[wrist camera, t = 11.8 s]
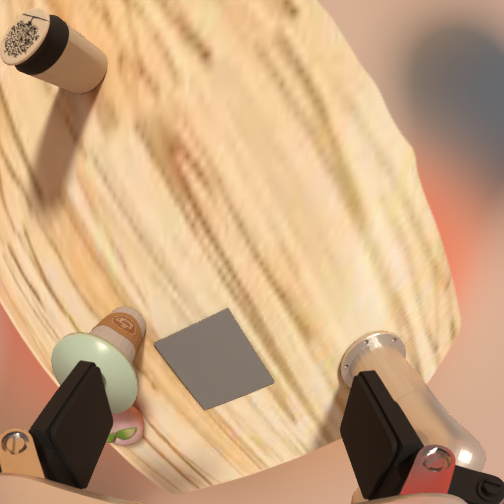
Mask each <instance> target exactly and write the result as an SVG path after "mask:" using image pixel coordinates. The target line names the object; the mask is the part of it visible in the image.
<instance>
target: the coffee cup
mask: <svg viewBox="0 0 504 504" xmlns="http://www.w3.org/2000/svg"><path fill="white" fill-rule="evenodd" d="M145 331H146V325H145V321H144V319H143V317H142V315H141V314H140V313H139V312H138V311H137V310H135V309H133V308H131V307H126V306H125V307H118V308H116V309H115V310H113V311H112V312H111V313H110V314H109V315H108V316H106V317H105V318H104V319H103V320H102V321H101V322H100V323H98V324H97V325H96V326H95V327H94V328H93V329H92V331H91V332H90V334H94V335H97V336H99V337H101V338H103V339H105V340H107V341H109V342H110V343H112V344H113V345H115V346H116V347H117V348H118V349H119V350H120V351H121V352H122V353H123V354H124V355H125V356H126V357H127V358H128V359H129V361H130V362H131V364H133V362H134V360H135V357H136V355H137V352H138V350H139V347H140V345H141V342H142V339H143V336H144V334H145Z"/></svg>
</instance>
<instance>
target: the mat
mask: <svg viewBox="0 0 504 504" xmlns="http://www.w3.org/2000/svg"><path fill="white" fill-rule="evenodd" d="M154 345H155V347H156V348H157V349H158V351H159V352H160V354H161V355H162V356H163V358H164V359H165V360H166V362H167V363H168V364H169V366H170V367H171V368H172V370H173V371H174V372H175V374H176V375H177V376H178V377H179V379H180V380H181V381H182V383H183V384H184V385H185V386H186V388H187V389H188V390H189V391H190V393H191V394H192V395H193V396H194V398H195V399H196V400H197V401H198V402H199V404H200V405H201V406H202V407H203V408H204V410H206V409H209V408H212V407H215V406H217V405H220V404H223V403H225V402H228V401H231V400H233V399H236V398H238V397H241V396H243V395H246V394H248V393H251V392H253V391H256V390H258V389H260V388H263V387H265V386H268V385H270V384H272V383H274V380H273V378H272V377H271V375H270V374H269V372H268V370H267V369H266V367H265V366H264V364H263V363H262V361H261V360H260V358H259V356H258V355H257V353H256V352H255V350H254V349H253V347H252V345H251V344H250V342H249V341H248V339H247V337H246V336H245V334H244V333H243V331H242V329H241V328H240V326H239V325H238V323H237V321H236V320H235V318H234V317H233V315H232V313H231V312H230V310H229V308H226V309H224V310H222V311H220V312H218V313H216V314H214V315H212V316H210V317H208V318H206V319H203V320H201V321H199V322H197V323H195V324H193V325H191V326H189V327H187V328H185V329H182V330H180V331H178V332H176V333H174V334H172V335H170V336H168V337H165V338H163V339H161V340H159V341H157V342H155V343H154Z"/></svg>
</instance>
